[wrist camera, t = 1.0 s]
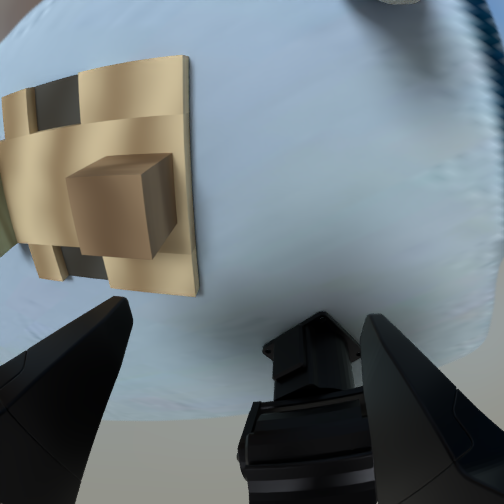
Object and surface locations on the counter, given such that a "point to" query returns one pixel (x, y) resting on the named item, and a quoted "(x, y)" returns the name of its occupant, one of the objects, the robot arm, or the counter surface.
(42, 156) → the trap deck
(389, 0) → the salt shaker
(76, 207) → the walnut block
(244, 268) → the counter surface
